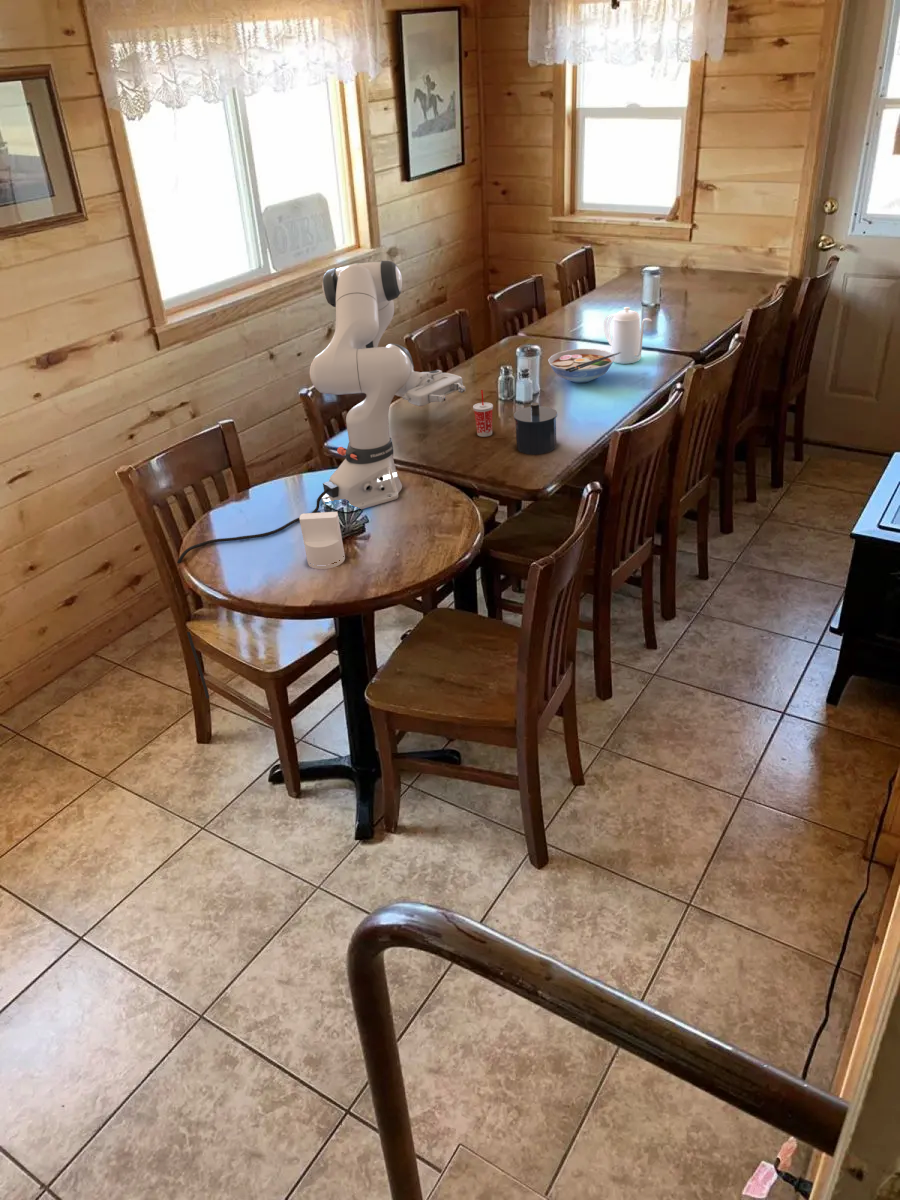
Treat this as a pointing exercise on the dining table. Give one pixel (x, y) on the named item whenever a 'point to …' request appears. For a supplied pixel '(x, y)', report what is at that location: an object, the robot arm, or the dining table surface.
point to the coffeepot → (625, 335)
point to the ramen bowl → (581, 364)
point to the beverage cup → (483, 418)
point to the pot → (536, 437)
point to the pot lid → (535, 414)
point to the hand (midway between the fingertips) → (454, 394)
